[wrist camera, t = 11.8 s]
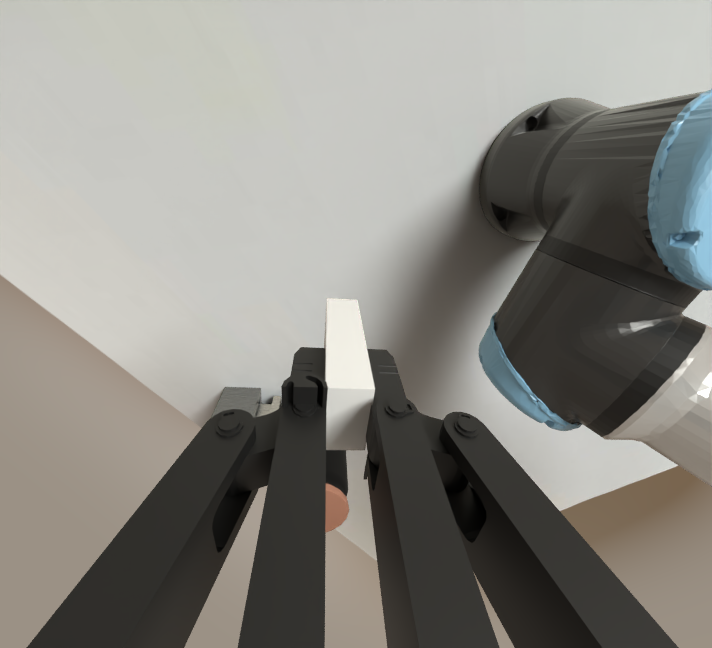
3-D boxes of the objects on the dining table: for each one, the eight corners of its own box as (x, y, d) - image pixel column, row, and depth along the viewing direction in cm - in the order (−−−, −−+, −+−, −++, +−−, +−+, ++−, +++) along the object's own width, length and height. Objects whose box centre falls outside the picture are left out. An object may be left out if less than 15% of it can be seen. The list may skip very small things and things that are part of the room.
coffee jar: (308, 438, 57) (300, 545, 41) (269, 405, 52) (243, 512, 36) (354, 412, 54) (365, 515, 39) (318, 375, 50) (313, 475, 34)
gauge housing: (260, 388, 50) (247, 432, 42) (263, 426, 54) (251, 473, 46) (225, 387, 49) (204, 432, 41) (230, 426, 54) (212, 473, 46)
